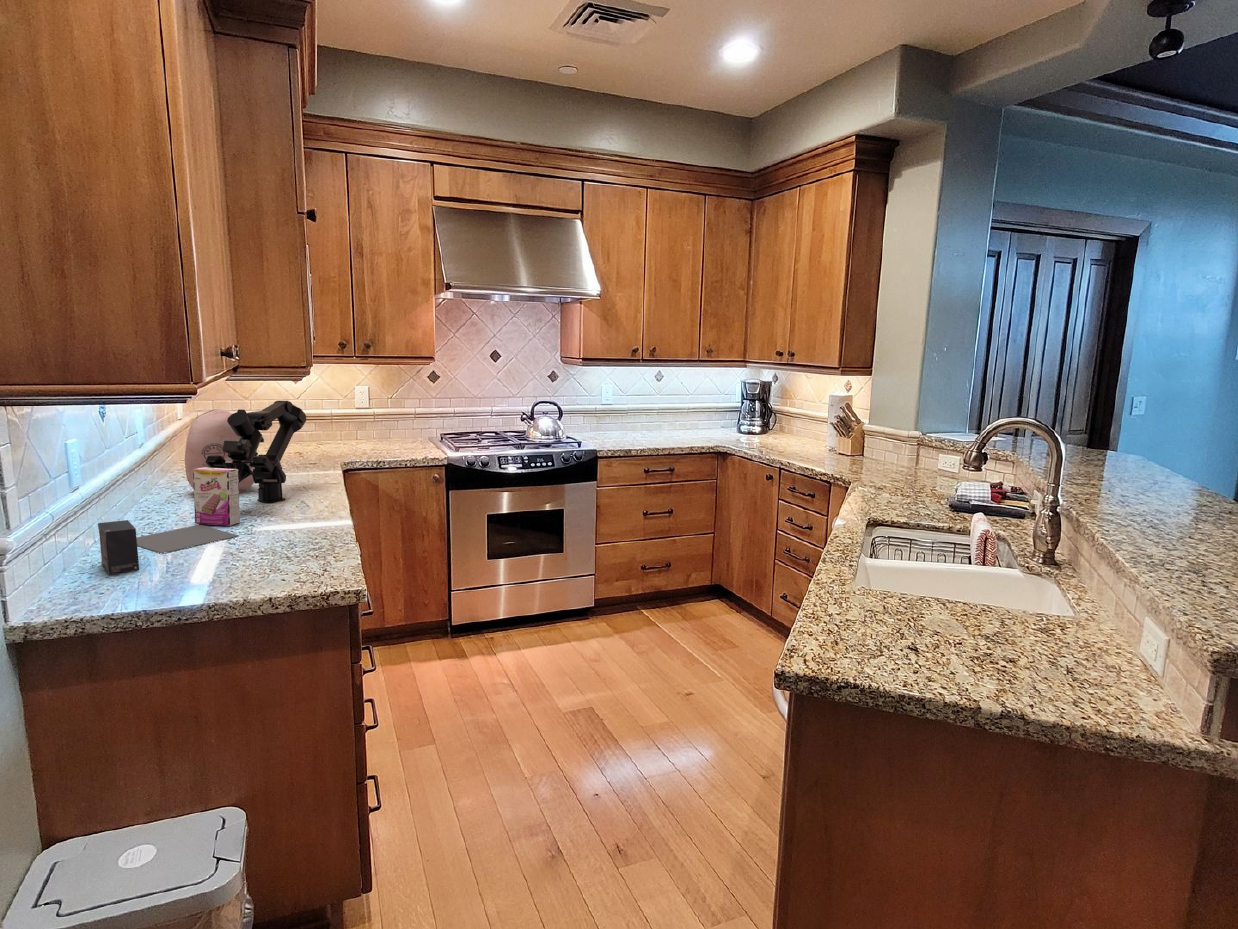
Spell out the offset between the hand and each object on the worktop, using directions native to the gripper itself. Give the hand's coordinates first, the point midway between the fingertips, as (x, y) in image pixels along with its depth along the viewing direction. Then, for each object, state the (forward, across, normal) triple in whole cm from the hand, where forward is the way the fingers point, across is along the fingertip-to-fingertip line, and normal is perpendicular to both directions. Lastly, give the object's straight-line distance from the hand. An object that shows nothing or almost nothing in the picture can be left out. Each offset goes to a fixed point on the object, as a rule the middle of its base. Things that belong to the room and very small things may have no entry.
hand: (230, 487), depth 212 cm
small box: (+40, 0, -27) cm, 48 cm away
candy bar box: (+12, 0, +1) cm, 12 cm away
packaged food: (-16, -22, +30) cm, 40 cm away
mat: (+23, -1, -10) cm, 25 cm away
